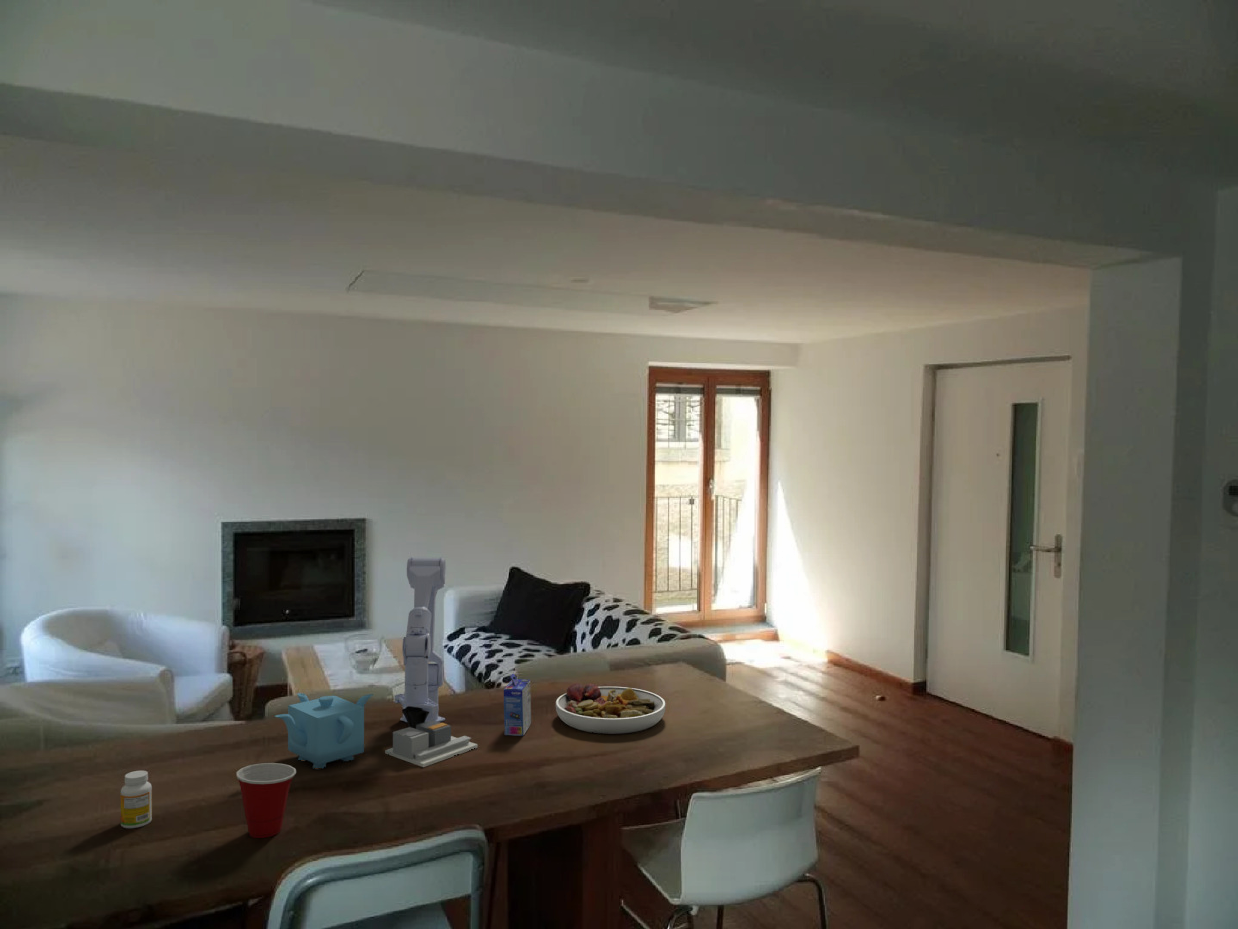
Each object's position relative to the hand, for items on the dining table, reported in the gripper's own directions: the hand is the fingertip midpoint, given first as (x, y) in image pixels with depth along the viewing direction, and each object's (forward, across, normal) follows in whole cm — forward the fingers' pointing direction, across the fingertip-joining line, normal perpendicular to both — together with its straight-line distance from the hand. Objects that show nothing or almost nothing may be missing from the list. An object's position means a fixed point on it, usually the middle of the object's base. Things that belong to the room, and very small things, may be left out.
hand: (416, 736), depth 221 cm
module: (+1, +7, 0) cm, 7 cm away
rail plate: (+2, +7, -1) cm, 8 cm away
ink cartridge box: (+2, +12, +23) cm, 27 cm away
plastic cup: (+2, +17, -51) cm, 54 cm away
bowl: (+2, +26, +46) cm, 53 cm away
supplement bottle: (+2, -6, -64) cm, 65 cm away
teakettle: (+2, -9, -20) cm, 22 cm away
